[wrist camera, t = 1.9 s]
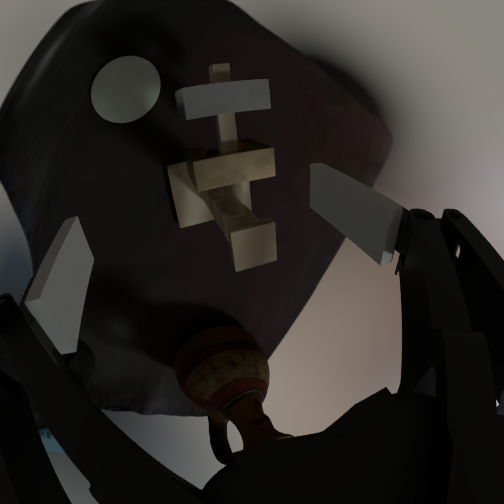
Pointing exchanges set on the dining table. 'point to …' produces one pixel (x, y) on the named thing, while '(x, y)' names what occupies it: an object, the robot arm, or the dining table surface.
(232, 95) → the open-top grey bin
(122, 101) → the felt pad
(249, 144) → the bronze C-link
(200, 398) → the ceramic pitcher
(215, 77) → the peg stand
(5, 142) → the dining table surface
